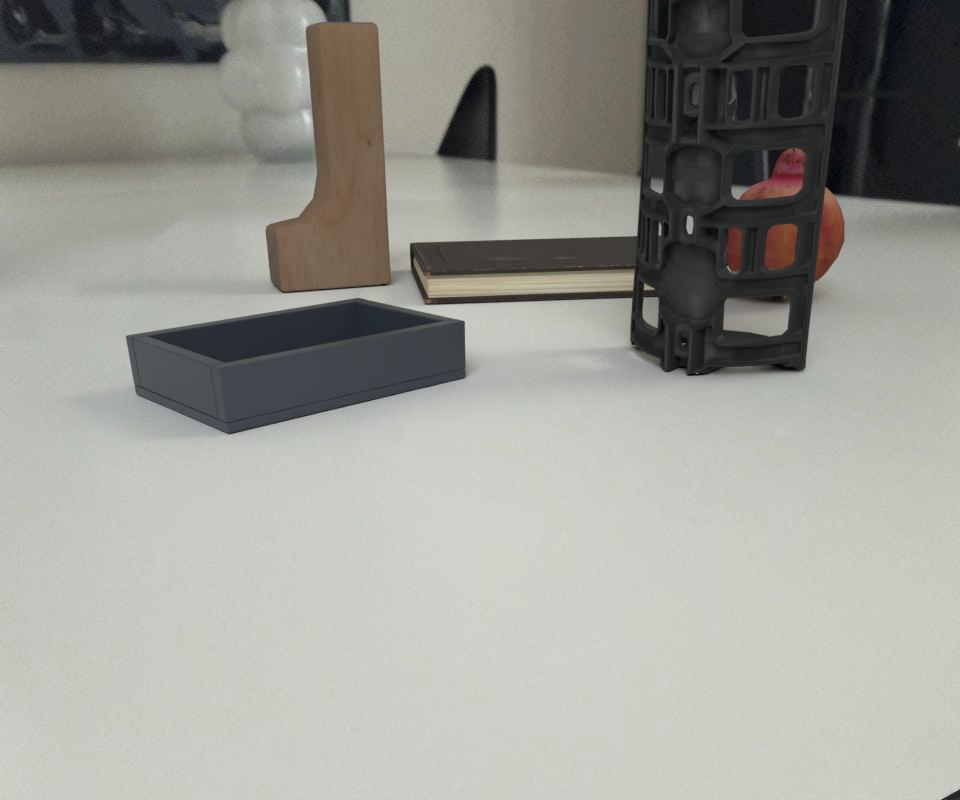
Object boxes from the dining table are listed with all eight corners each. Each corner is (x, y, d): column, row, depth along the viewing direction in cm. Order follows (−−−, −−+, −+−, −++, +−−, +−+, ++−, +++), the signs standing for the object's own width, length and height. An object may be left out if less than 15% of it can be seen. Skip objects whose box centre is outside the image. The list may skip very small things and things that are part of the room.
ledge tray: (135, 393, 52) (125, 335, 51) (361, 348, 61) (358, 297, 59) (228, 434, 46) (219, 368, 45) (466, 377, 55) (465, 320, 53)
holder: (827, 351, 57) (878, -75, 46) (790, 395, 52) (836, -73, 41) (647, 334, 63) (654, -53, 52) (596, 373, 57) (591, -49, 46)
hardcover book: (729, 293, 75) (732, 261, 74) (425, 304, 73) (423, 271, 72) (668, 261, 89) (670, 234, 88) (410, 269, 87) (409, 241, 86)
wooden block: (280, 293, 78) (253, 20, 69) (270, 284, 81) (242, 24, 73) (392, 285, 80) (379, 22, 72) (377, 276, 84) (363, 25, 75)
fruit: (705, 291, 76) (719, 145, 72) (809, 289, 77) (829, 143, 72) (736, 312, 69) (753, 151, 64) (850, 309, 70) (876, 149, 65)
